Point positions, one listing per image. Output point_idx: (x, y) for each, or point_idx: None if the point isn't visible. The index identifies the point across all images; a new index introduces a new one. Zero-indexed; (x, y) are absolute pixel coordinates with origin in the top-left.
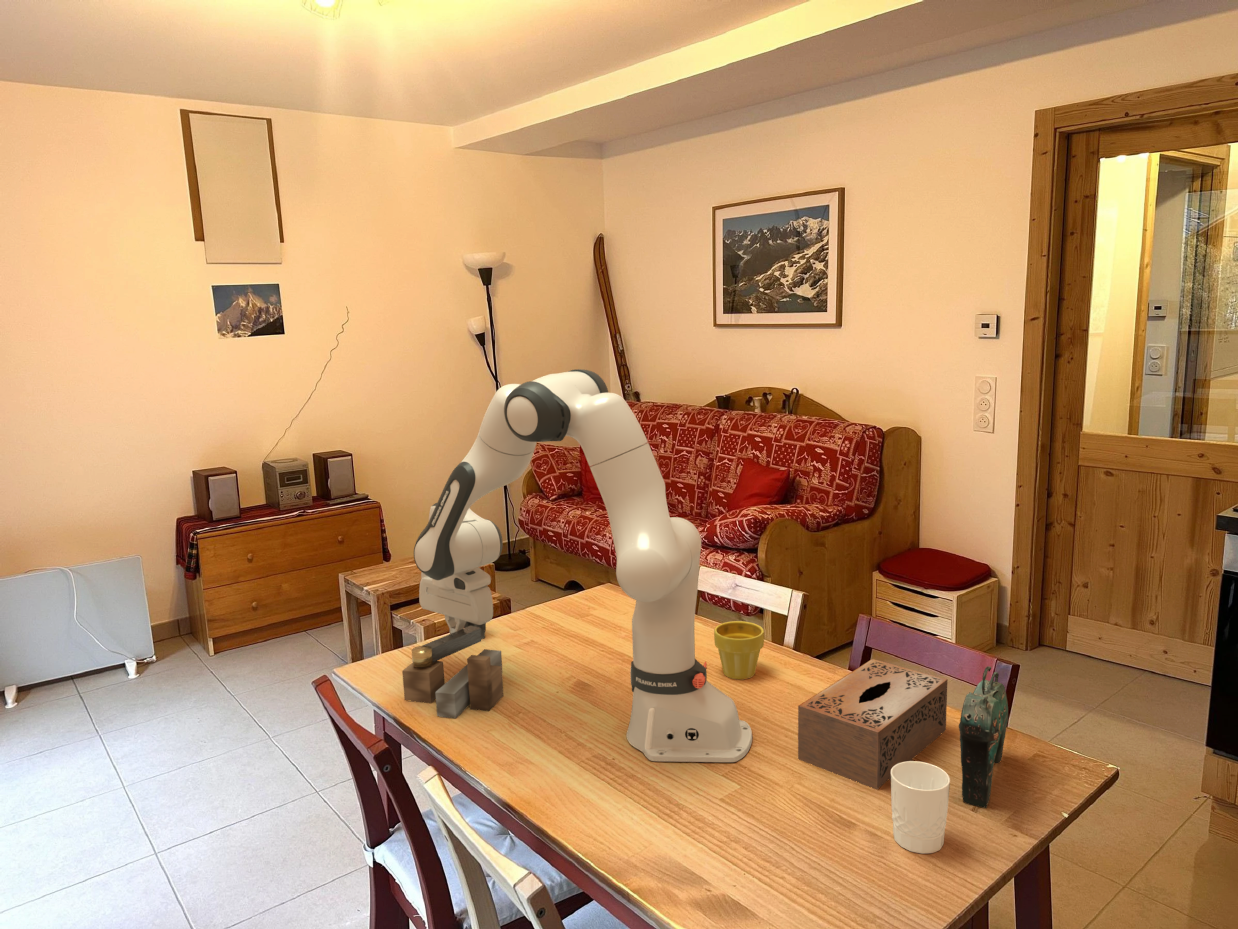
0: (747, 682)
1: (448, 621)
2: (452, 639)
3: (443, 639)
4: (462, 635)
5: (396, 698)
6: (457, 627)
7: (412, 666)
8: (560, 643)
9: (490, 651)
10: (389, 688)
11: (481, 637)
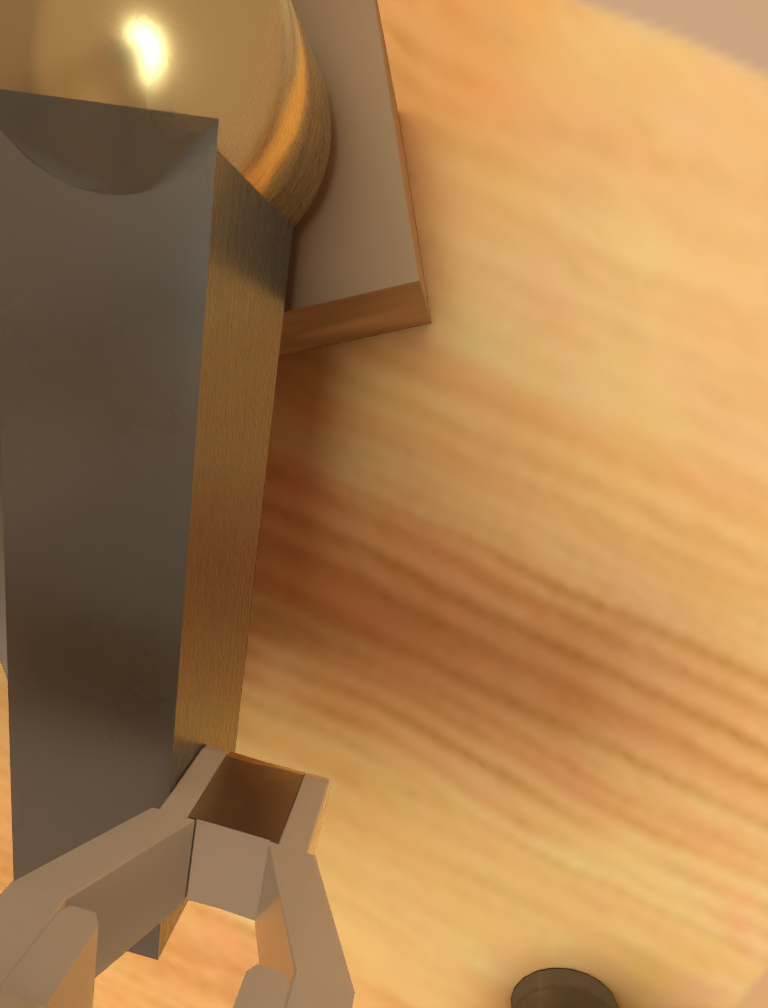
0: None
1: (288, 943)
2: (15, 548)
3: (110, 503)
4: (8, 693)
5: (478, 113)
6: (123, 833)
7: (329, 75)
8: (128, 1005)
9: None
10: (637, 228)
11: (515, 1004)
